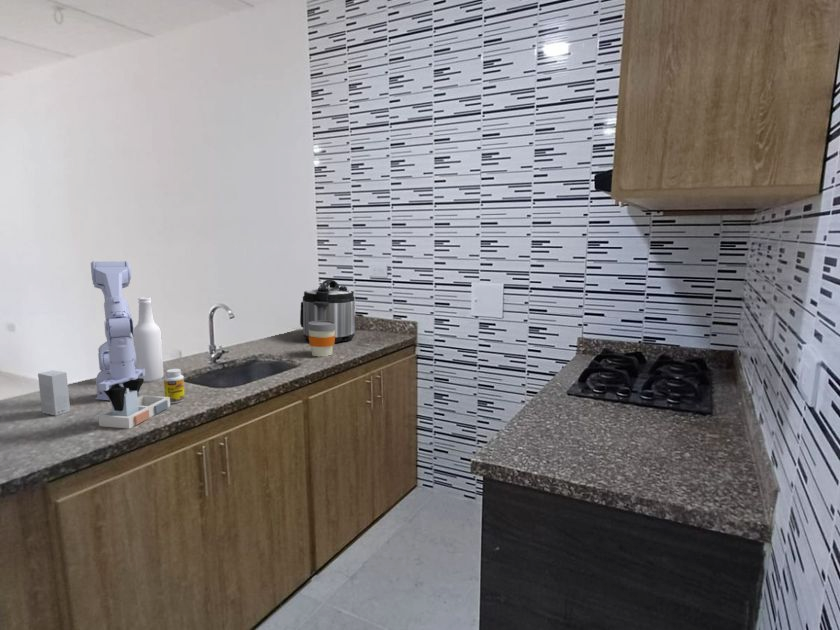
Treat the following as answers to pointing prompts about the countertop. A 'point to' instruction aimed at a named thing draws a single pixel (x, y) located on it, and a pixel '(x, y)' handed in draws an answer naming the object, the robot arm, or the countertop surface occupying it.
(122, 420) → the white divided frame
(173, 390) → the supplement bottle
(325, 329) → the reusable coffee cup
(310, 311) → the pressure cooker
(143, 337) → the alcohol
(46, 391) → the skincare box
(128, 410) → the plug
